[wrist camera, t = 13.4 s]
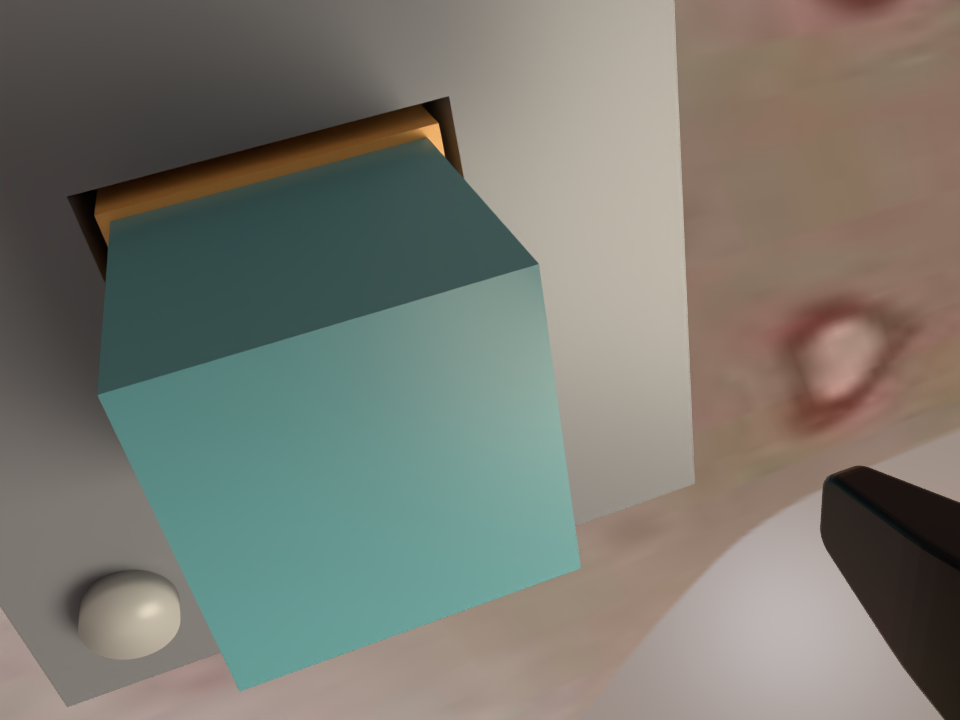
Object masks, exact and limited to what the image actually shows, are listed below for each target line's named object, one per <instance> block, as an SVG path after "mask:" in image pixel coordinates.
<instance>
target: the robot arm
mask: <svg viewBox="0 0 960 720" xmlns="http://www.w3.org/2000/svg"><path fill="white" fill-rule="evenodd" d="M820 531H821V537H822V540H823V543H824V545H825V548H826V550H827V551H828V553H829V554H830V556H831V558H832V559H833V561H834V562H835V564H836V565H837V567H838V568H839V570H840V571H841V573H842V575H843V576H844V578H845V579H846V581H847V582H848V584H849V586H850V587H851V589H852V590H853V592H854V593H855V595H856V596H857V598H858V599H859V601H860V603H861V604H862V606H863V607H864V609H865V610H866V612H867V613H868V615H869V617H870V618H871V619H872V621H873V623H874V624H875V626H876V627H877V629H878V631H879V632H880V634H881V635H882V637H883V638H884V640H885V641H886V643H887V644H888V646H889V648H890V649H891V650H892V652H893V653H894V655H895V656H896V658H897V659H898V661H899V662H900V664H901V665H902V666H903V668H904V669H905V670H906V672H907V673H908V674H909V676H910V677H911V678H912V680H913V681H914V682H915V684H916V685H917V686H918V687H919V689H920V690H921V691H922V692H923V694H924V695H925V696H926V697H927V699H928V700H929V701H930V702H931V704H932V705H933V706H934V707H935V709H936V710H937V711H938V712H939V714H940V715H941V716H942V717H943V719H944V720H960V502H957V501H954V500H952V499H949V498H947V497H944V496H942V495H939V494H936V493H934V492H931V491H929V490H926V489H923V488H921V487H918V486H915V485H913V484H910V483H908V482H905V481H903V480H900V479H897V478H895V477H892V476H889V475H887V474H884V473H882V472H879V471H877V470H874V469H872V468H869V467H865V466H854V467H851V468H848V469H845V470H842V471H840V472H837V473H834V474H831V475H829V476H828V477H827V478H826V480H825V481H824V483H823V492H822V508H821V524H820Z"/></svg>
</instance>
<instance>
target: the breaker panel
mask: <svg viewBox="0 0 960 720" xmlns="http://www.w3.org/2000/svg"><path fill="white" fill-rule="evenodd" d="M417 104H421V105H422V106H423V107H424V108H425V109H426V110H427V111H428V113H429V114H430V115H431V116H432V117H433V118H434V119H435V120H436V121H437V122H438V123H439V128H440V133H441V138H442V143H443V148H444V154H445V158H446V159H447V160H448V161H449V162H450V164H451V165H452V166H453V167H454V168H455V169H456V170H457V171H458V173H459V174H460V175H461V176H462V177H463V178H464V179H465V181H466V182H467V183H468V184H469V185H470V186H471V187H472V188H473V190H474V191H475V192H476V193H477V194H478V195H479V196H480V198H481V199H482V200H483V201H484V202H485V203H486V204H487V206H488V207H489V208H490V209H491V210H492V211H493V212H494V213H495V215H496V216H497V217H498V218H499V219H500V220H501V221H502V223H503V224H504V225H505V226H506V227H507V228H508V229H509V230H510V232H511V233H512V234H513V235H514V236H515V237H516V238H517V240H518V241H519V242H520V243H521V244H522V245H523V246H524V248H525V249H526V250H527V251H528V252H529V253H530V254H531V255H532V257H533V258H534V259H535V260H536V261H537V262H538V263H539V268H540V275H541V282H542V289H543V297H544V304H545V311H546V319H547V326H548V333H549V340H550V348H551V355H552V362H553V370H554V377H555V384H556V391H557V399H558V406H559V413H560V421H561V428H562V435H563V442H564V450H565V457H566V464H567V472H568V479H569V486H570V493H571V501H572V508H573V515H574V523H575V526H577V525H580V524H583V523H586V522H589V521H591V520H594V519H597V518H600V517H603V516H605V515H608V514H611V513H614V512H617V511H619V510H622V509H625V508H628V507H631V506H634V505H636V504H639V503H642V502H645V501H648V500H650V499H653V498H656V497H659V496H662V495H664V494H667V493H670V492H673V491H676V490H678V489H681V488H684V487H687V486H690V485H693V484H695V478H694V455H693V431H692V408H691V384H690V361H689V338H688V314H687V291H686V267H685V244H684V220H683V197H682V173H681V150H680V126H679V103H678V79H677V56H676V33H675V9H674V0H0V607H1V608H2V610H3V611H4V613H5V614H6V616H7V617H8V619H9V620H10V622H11V623H12V625H13V626H14V628H15V629H16V631H17V632H18V634H19V635H20V637H21V638H22V640H23V641H24V643H25V644H26V646H27V647H28V649H29V650H30V652H31V653H32V655H33V656H34V658H35V659H36V661H37V662H38V664H39V665H40V667H41V668H42V670H43V671H44V673H45V674H46V676H47V677H48V679H49V680H50V682H51V683H52V685H53V686H54V688H55V689H56V691H57V692H58V694H59V695H60V697H61V698H62V700H63V701H64V703H65V704H66V706H67V707H69V706H72V705H75V704H77V703H80V702H83V701H86V700H89V699H91V698H94V697H97V696H100V695H103V694H105V693H108V692H111V691H114V690H117V689H119V688H122V687H125V686H128V685H131V684H134V683H136V682H139V681H142V680H145V679H148V678H150V677H153V676H156V675H159V674H162V673H164V672H167V671H170V670H173V669H176V668H178V667H181V666H184V665H187V664H190V663H193V662H195V661H198V660H201V659H204V658H207V657H209V656H212V655H215V654H218V653H221V651H220V649H219V647H218V645H217V643H216V641H215V639H214V637H213V635H212V633H211V631H210V629H209V626H208V624H207V622H206V620H205V618H204V616H203V614H202V612H201V610H200V608H199V606H198V604H197V602H196V599H195V597H194V595H193V593H192V591H191V589H190V587H189V585H188V583H187V581H186V579H185V577H184V574H183V572H182V570H181V568H180V566H179V564H178V562H177V560H176V558H175V556H174V554H173V552H172V549H171V547H170V545H169V543H168V541H167V539H166V537H165V535H164V533H163V531H162V529H161V527H160V525H159V522H158V520H157V518H156V516H155V514H154V512H153V510H152V508H151V506H150V504H149V502H148V500H147V497H146V495H145V493H144V491H143V489H142V487H141V485H140V483H139V481H138V479H137V477H136V475H135V472H134V470H133V468H132V466H131V464H130V462H129V460H128V458H127V456H126V454H125V452H124V450H123V447H122V445H121V443H120V441H119V439H118V437H117V435H116V433H115V431H114V429H113V427H112V425H111V423H110V420H109V418H108V416H107V414H106V412H105V410H104V408H103V406H102V404H101V402H100V400H99V398H98V395H97V392H98V378H99V365H100V351H101V338H102V324H103V311H104V297H105V284H106V271H107V257H108V246H107V244H106V241H105V239H104V237H103V234H102V232H101V230H100V227H99V225H98V223H97V221H96V218H95V216H94V213H95V204H96V196H97V188H101V187H105V186H109V185H113V184H116V183H120V182H124V181H128V180H132V179H135V178H139V177H143V176H147V175H151V174H155V173H158V172H162V171H166V170H170V169H174V168H177V167H181V166H185V165H189V164H193V163H196V162H200V161H204V160H208V159H212V158H215V157H219V156H223V155H227V154H231V153H234V152H238V151H242V150H246V149H250V148H253V147H257V146H261V145H265V144H269V143H272V142H276V141H280V140H284V139H288V138H291V137H295V136H299V135H303V134H307V133H310V132H314V131H318V130H322V129H326V128H329V127H333V126H337V125H341V124H345V123H348V122H352V121H356V120H360V119H364V118H367V117H371V116H375V115H379V114H383V113H386V112H390V111H394V110H398V109H402V108H405V107H409V106H413V105H417Z"/></svg>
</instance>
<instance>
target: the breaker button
mask: <svg viewBox="0 0 960 720" xmlns="http://www.w3.org/2000/svg"><path fill="white" fill-rule="evenodd" d="M427 137H428V139H429V140H430V141H431V142H432V143H433V144H434V145H435V147H436V148H437V149H438V150H439V151H440V152H441V153H442V154H443V156H444V157H445V154H444V148H443V143H442V138H441V133H440V128H439V123H438V122H437V121H436V120H435V119H434V118H433V117H432V116H431V115H430V114H429V113H428V111H427V110H426V109H425V108H424V107H423V106H422V105H421V104H417V105H413V106H409V107H405V108H402V109H398V110H394V111H390V112H386V113H383V114H379V115H375V116H371V117H367V118H364V119H360V120H356V121H352V122H348V123H345V124H341V125H337V126H333V127H329V128H326V129H322V130H318V131H314V132H310V133H307V134H303V135H299V136H295V137H291V138H288V139H284V140H280V141H276V142H272V143H269V144H265V145H261V146H257V147H253V148H250V149H246V150H242V151H238V152H234V153H231V154H227V155H223V156H219V157H215V158H212V159H208V160H204V161H200V162H196V163H193V164H189V165H185V166H181V167H177V168H174V169H170V170H166V171H162V172H158V173H155V174H151V175H147V176H143V177H139V178H135V179H132V180H128V181H124V182H120V183H116V184H113V185H109V186H105V187H101V188H97V196H96V204H95V213H94V216H95V218H96V221H97V223H98V225H99V227H100V230H101V232H102V234H103V237H104V239H105V241H106V244H107V246H108V244H109V230H110V221H113V220H117V219H121V218H125V217H128V216H132V215H136V214H140V213H144V212H147V211H151V210H155V209H159V208H162V207H166V206H170V205H174V204H178V203H181V202H185V201H189V200H193V199H196V198H200V197H204V196H208V195H211V194H215V193H219V192H223V191H227V190H230V189H234V188H238V187H242V186H245V185H249V184H253V183H257V182H261V181H264V180H268V179H272V178H276V177H279V176H283V175H287V174H291V173H295V172H298V171H302V170H306V169H310V168H313V167H317V166H321V165H325V164H329V163H332V162H336V161H340V160H344V159H347V158H351V157H355V156H359V155H362V154H366V153H370V152H374V151H378V150H381V149H385V148H389V147H393V146H396V145H400V144H404V143H408V142H412V141H415V140H419V139H423V138H427Z"/></svg>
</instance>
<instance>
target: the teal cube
mask: <svg viewBox="0 0 960 720" xmlns="http://www.w3.org/2000/svg"><path fill="white" fill-rule="evenodd" d="M97 395H98V398H99V400H100V402H101V404H102V406H103V408H104V410H105V412H106V414H107V416H108V418H109V420H110V423H111V425H112V427H113V429H114V431H115V433H116V435H117V437H118V439H119V441H120V443H121V445H122V447H123V450H124V452H125V454H126V456H127V458H128V460H129V462H130V464H131V466H132V468H133V470H134V472H135V475H136V477H137V479H138V481H139V483H140V485H141V487H142V489H143V491H144V493H145V495H146V497H147V500H148V502H149V504H150V506H151V508H152V510H153V512H154V514H155V516H156V518H157V520H158V522H159V525H160V527H161V529H162V531H163V533H164V535H165V537H166V539H167V541H168V543H169V545H170V547H171V549H172V552H173V554H174V556H175V558H176V560H177V562H178V564H179V566H180V568H181V570H182V572H183V574H184V577H185V579H186V581H187V583H188V585H189V587H190V589H191V591H192V593H193V595H194V597H195V599H196V602H197V604H198V606H199V608H200V610H201V612H202V614H203V616H204V618H205V620H206V622H207V624H208V626H209V629H210V631H211V633H212V635H213V637H214V639H215V641H216V643H217V645H218V647H219V649H220V651H221V654H222V656H223V658H224V660H225V662H226V664H227V666H228V668H229V670H230V672H231V674H232V676H233V679H234V681H235V683H236V685H237V687H238V689H239V691H242V690H245V689H248V688H250V687H253V686H256V685H259V684H261V683H264V682H267V681H270V680H273V679H275V678H278V677H281V676H284V675H286V674H289V673H292V672H295V671H297V670H300V669H303V668H306V667H309V666H311V665H314V664H317V663H320V662H322V661H325V660H328V659H331V658H333V657H336V656H339V655H342V654H345V653H347V652H350V651H353V650H356V649H358V648H361V647H364V646H367V645H369V644H372V643H375V642H378V641H381V640H383V639H386V638H389V637H392V636H394V635H397V634H400V633H403V632H405V631H408V630H411V629H414V628H417V627H419V626H422V625H425V624H428V623H430V622H433V621H436V620H439V619H441V618H444V617H447V616H450V615H453V614H455V613H458V612H461V611H464V610H466V609H469V608H472V607H475V606H477V605H480V604H483V603H486V602H489V601H491V600H494V599H497V598H500V597H502V596H505V595H508V594H511V593H513V592H516V591H519V590H522V589H525V588H527V587H530V586H533V585H536V584H538V583H541V582H544V581H547V580H549V579H552V578H555V577H558V576H561V575H563V574H566V573H569V572H572V571H574V570H577V569H580V568H581V566H580V559H579V552H578V544H577V537H576V530H575V523H574V515H573V508H572V501H571V493H570V486H569V479H568V472H567V464H566V457H565V450H564V442H563V435H562V428H561V421H560V413H559V406H558V399H557V391H556V384H555V377H554V370H553V362H552V355H551V348H550V340H549V333H548V326H547V319H546V311H545V304H544V297H543V289H542V282H541V275H540V268H539V263H538V262H537V261H536V260H535V259H534V258H533V257H532V255H531V254H530V253H529V252H528V251H527V250H526V249H525V248H524V246H523V245H522V244H521V243H520V242H519V241H518V240H517V238H516V237H515V236H514V235H513V234H512V233H511V232H510V230H509V229H508V228H507V227H506V226H505V225H504V224H503V223H502V221H501V220H500V219H499V218H498V217H497V216H496V215H495V213H494V212H493V211H492V210H491V209H490V208H489V207H488V206H487V204H486V203H485V202H484V201H483V200H482V199H481V198H480V196H479V195H478V194H477V193H476V192H475V191H474V190H473V188H472V187H471V186H470V185H469V184H468V183H467V182H466V181H465V179H464V178H463V177H462V176H461V175H460V174H459V173H458V171H457V170H456V169H455V168H454V167H453V166H452V165H451V164H450V162H449V161H448V160H447V159H446V158H445V157H444V156H443V154H442V153H441V152H440V151H439V150H438V149H437V148H436V147H435V145H434V144H433V143H432V142H431V141H430V140H429V139H428V137H427V138H423V139H419V140H415V141H412V142H408V143H404V144H400V145H396V146H393V147H389V148H385V149H381V150H378V151H374V152H370V153H366V154H362V155H359V156H355V157H351V158H347V159H344V160H340V161H336V162H332V163H329V164H325V165H321V166H317V167H313V168H310V169H306V170H302V171H298V172H295V173H291V174H287V175H283V176H279V177H276V178H272V179H268V180H264V181H261V182H257V183H253V184H249V185H245V186H242V187H238V188H234V189H230V190H227V191H223V192H219V193H215V194H211V195H208V196H204V197H200V198H196V199H193V200H189V201H185V202H181V203H178V204H174V205H170V206H166V207H162V208H159V209H155V210H151V211H147V212H144V213H140V214H136V215H132V216H128V217H125V218H121V219H117V220H113V221H110V230H109V244H108V257H107V271H106V284H105V297H104V311H103V324H102V338H101V351H100V365H99V378H98V392H97Z"/></svg>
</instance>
